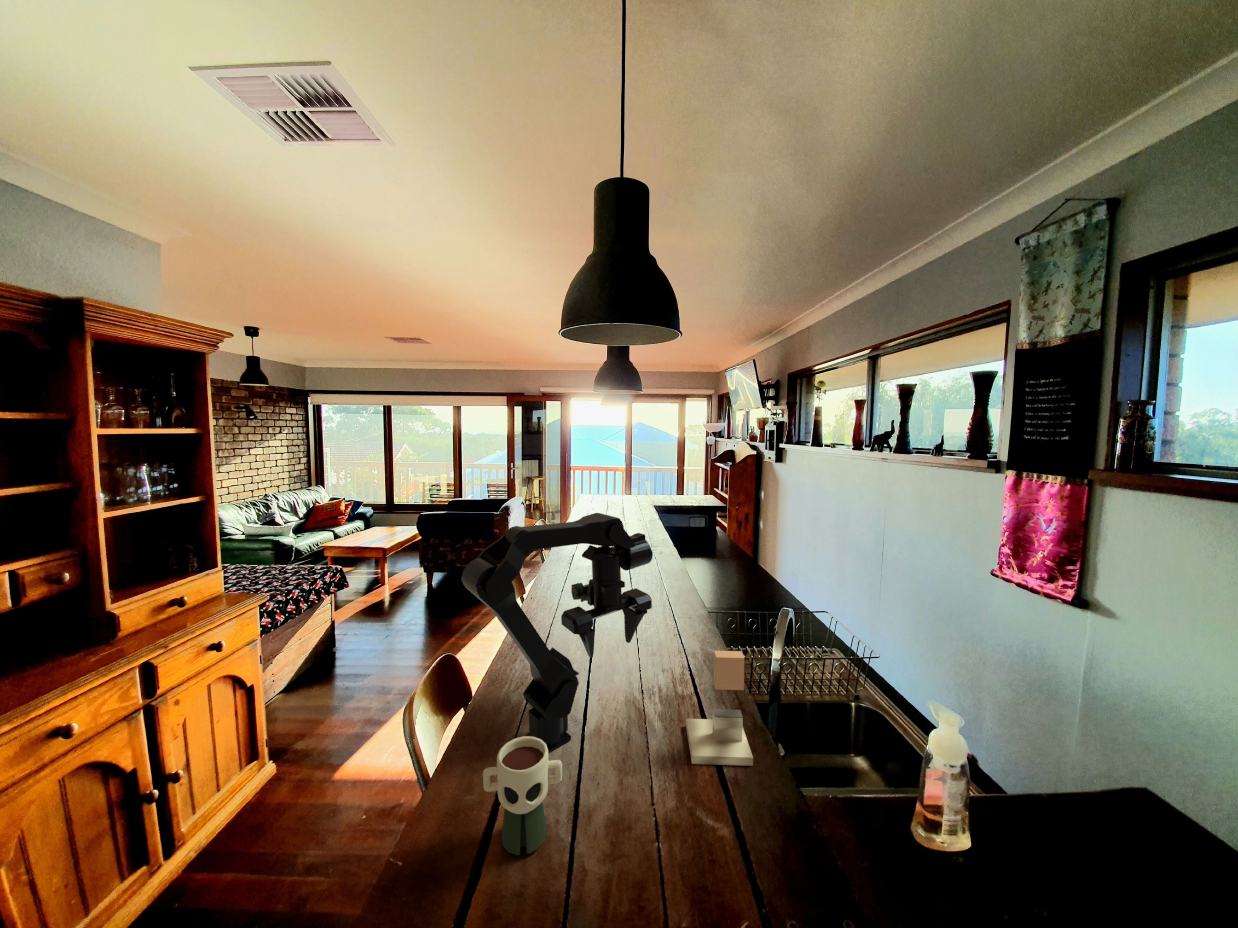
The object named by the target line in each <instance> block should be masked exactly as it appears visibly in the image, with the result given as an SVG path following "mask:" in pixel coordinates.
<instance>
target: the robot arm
mask: <svg viewBox="0 0 1238 928" xmlns="http://www.w3.org/2000/svg"><path fill="white" fill-rule="evenodd" d="M582 544H586V545H588V546H587V549H586V550H584V551H583V553H582V554H581V557H582V558H584V559H586V560H589V561H590V562H591V570H592V571H591V572H592V576H591V577H592V578H591V579H589V581H588V583H587V584H583V583H582V582H577V583H574V584H571V596H572V599H573V600H574V601H577V600H580V602H581V603H583V602H587V605H589V606H593V608H591V609H588V610H585V609H584V608H582V607H581V606H576V607H573V608H569V609H566V610H564V611H563V612H562V614H561V615H560V618H561V625H562V626H563V627H564V628H565V629H567V630H568V631H569V632H571V633H572V634H573V635H579V638H580V640H581V642H582V644H583V647H584V648H585V651H586V653H587V655H588V657H589V658H591V659H592V658H593V657H594V651H595V635H596V634H595V631H596V630H595V629H593V627H594V620H596V619H599V618H602V617H604V616H605V617H606V616H607V615H610V614H613V613H616V612H619V611H622V612H623V616H624V617H623V619H624V622H623V623H624V638H625V642H626V643H627V644H630V643H631V641H632V639H633V637H634V635H635V633H636V631H637V628H638V627H639V625H640V623H641V621H642V619H643V617H644V616H645V615H647V614H648V610H651V609H652V608H653V600H652V597H651V595H650V594H649V593H646V592H645V591H642V590H641V589H639V588H635V587H634V588H632V589H629V590H626V591H624V592H622V589H623V588H626V583H625V582H626V581H624V580H622V576H621V570H623V571H630V570H633V569H636V568H639V567H642V566H645V565H648V564H650V563H651V562H652V561H653V556H654V555H653V553H654V551H653V550H652V547H651V545H650V543H649V542H648V540H646V534H643V533H641V532H637V533H633V534H632V535H629V533H628V532H627V531H626V529H625V526H624V523H623V521H622V520H621V518H619V517H617V516H612V515H609V514H606V513H605V514H604V513H600V512H596V513H595V512H594V513H591V514H588V515H584V516H582V517H581V518H579V519H577V520H574V521H569V522H558V523H557V522H556V523H549V524H548V523H547V524H538V525H527V526H525V525H524V526H518V525H515V526H511V527H509V528H508V529H507V530H506V531H505V532H504V533H503V534H502V535H501V537H500V538H498V539H497V540H495V541H494V542H492V543H491V544H489V545H488V546H487V547H486V548H484V549H483V550H482V551H481V553H480V554H479V555H478V556H477V557H476V558H475V559H472V560H471V561H469V562H468V563H467V565H465V567H464V569H463V571H462V575H461V582H462V584H463V586H464V587H465V588H466V589H467V590H468V591H469V592H470V593H471V594H473V595H474V597H476V598H477V599H478V600H479V601H480V602H481V603H483V604H484V605H485V606H486V607H487V608H488V609H490V611H492V613H493V614H494V615H495V617H496V618H497V620H498V621H499V623H500V624H501V625H502V627H503V628H504V630H505V631H506V633H508V635H509V636H510V638H511V639H512V641H513V642H514V643H515V645H516V647H517V648H518V649H519V650H520V652H521V654H522V655H523V656H524V658H525V659H526V660H527V662H528V663H529V670H530V674H531V676H532V679H531V681H530V682H529V684H528V685H527V687H525V689H524V691H523V693H522V695H523V698H524V701H525V702H526V703H527V704H529V705H530V707H531V708H530V709H529V710H528V726H529V727H528V732H527V733H526V734H524V736H531V737H536V738H539V739H541V740H542V741H543V742H544V743H545V744H546V745H547V749H548V754H549V753H551V752H553V751H555V750H556V749H558V748H559V747H561V746H563V745H565V744H567V743H568V742H570V741H571V740H572V735H571V734H569V733H568V731H569V715H570V714H571V712H572V708H573V705H574V701H575V697H576V693H577V690H578V687H579V685H580V683H579V678H578V677H577V676H578V675H579V674H580V672H578V671H577V670H575V668H574V667H573V665H572V662H571V660H570V659H569V658H568V657H567V656H565V655H564V654H563V653H561V652H560V651H558V650H557V649H555V648H554V647H551V648H550V649H549V647H548V646H547V645H546V643H545V641H544V639H543V638H542V637H541V635H540V634H539V633H538V630H536V628H535V627H534V625H533V623H532V622H531V621H530V619H529V617H528V616H527V614H526V613H525V612H524V610H523V609H522V607H521V606H520V604H519V603H518V600H517V593H516V588H515V585H514V582H513V581H515V579H516V578H517V576H519V574H520V572H521V570H522V568H523V566H524V563H525V560H526V558H527V557H528V555H529V554H530V553H531V551H537V550H545V549H553V548H558V547H559V548H560V547H567V546H573V545H574V546H575V545H582ZM501 561H502V562H501ZM499 563H500V564H499Z"/></svg>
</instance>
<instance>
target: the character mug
mask: <svg viewBox="0 0 1238 928" xmlns="http://www.w3.org/2000/svg"><path fill="white" fill-rule="evenodd" d="M551 769H555V772H554V773H555V775H550V773H549V771H550V770H551ZM491 776H497V778H496V779H497V782H496V781H495V782H491ZM482 779H483V780H482V782H483V784H482V785H483V787H482V788H483V789H484V792H488V793H489V792H497V796H498V801H499V802H500V804H501V805H502V807H503V808H504V810H503V811H504V812H503V818H502V827H501V840H502V841H501V843H502V846H503V848H504V849H505V850H506V851H507V853H508V854H512V855H515V856H520V855H521V847H526V849H525V850H526V855H527V854H531V853H533V852H534V851H537V850H538V849H539V848H540V846H541V845H542V844H543V843H544V842H545V840H546V834H547V830H548V829H547V820H546V814H545V809H544V803H543V802H544V800H545V799H546V796H547V794H548V792H549V791H548V790H549V786H550V785H554V784H560V783H561V782H562V779H563V763H562V761H561V760H560V759H552V760H550V759H549V753H548V749H547V745H546V744H545V743H544V742H543V741H542V740H541V739H539V738H536V737H531V736H525V735H524V736H519V737H516V738H513V739H511V740H510V741H507V742H505V744H504V745H502V747H500V748H499V751H498V753H497V755H496V766H493V767H491V766H490V767H487V768H485V769H484V770H483V773H482Z"/></svg>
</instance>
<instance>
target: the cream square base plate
mask: <svg viewBox="0 0 1238 928" xmlns="http://www.w3.org/2000/svg"><path fill="white" fill-rule="evenodd" d="M743 716H744V715H743V714H742V711H741V709H726V708H725V709H721V708H718V709H716V708H712V718H711V719H710V718H709V719H707V718H685V727H686V728H685V729H686V735H687V740H688V747H689V748H688V749H689V752H690V753H689V754H690V760H691V765H693V764H694V765H717V766H718V765H719V766H720V765H721V766H722V765H723V766H749V767H750V766H751V767H752V766H754V756H753V754H752V750H751V747H750V745H749V742H748V739H747V735H746V733H745V729H744V725H743V723H744V721H743V719H744V717H743Z"/></svg>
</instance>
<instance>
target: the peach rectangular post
mask: <svg viewBox="0 0 1238 928" xmlns="http://www.w3.org/2000/svg"><path fill="white" fill-rule="evenodd" d="M713 684H714V688H715V689H714V690H727V691H729V690H730V691H734V690H735V691H744V690H745V688H744V687H745V655H744V654H743V651H742V650H741V651H740V650H713Z"/></svg>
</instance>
